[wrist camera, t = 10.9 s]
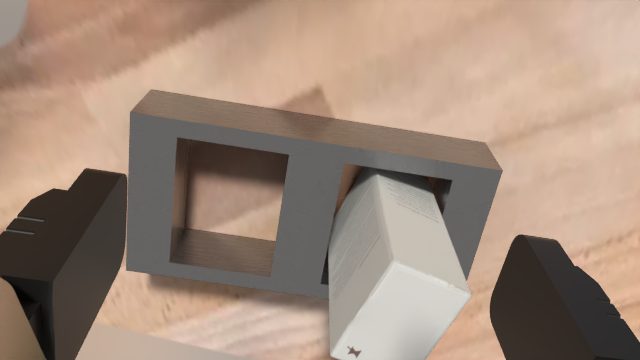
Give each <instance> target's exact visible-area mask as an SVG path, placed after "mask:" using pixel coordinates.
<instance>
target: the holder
mask: <svg viewBox="0 0 640 360" xmlns="http://www.w3.org/2000/svg"><path fill="white" fill-rule="evenodd" d="M191 139H192V140H198V141H205V142H211V143H217V144H224V145H230V146H237V147H243V148H250V149H256V150H263V151H269V152H275V153H282V154H288V155H289V158H288V165H287V171H286V178H285V185H284V191H283V198H282V204H281V211H280V218H279V224H278V231H277V237H276V242H275V241H268V240H262V239H255V238H248V237H241V236H234V235H228V234H221V233H214V232H207V231H200V230H194V229H187V228H184V227H185V213H186V199H187V186H188V172H189V158H190V145H191ZM364 166H366V167H372V168H379V169H385V170H391V171H398V172H404V173H411V174H415V175H417V176H420V177H422V178H424V179H426V180H427V181H428V182H429V183H430V186H431V188H432V191H433V194H434V196H435V199H436V202H437V204H438V207H439V210H440V212H441V215H442V218H443V220H444V223H445V226H446V228H447V231H448V234H449V237H450V239H451V242H452V244H453V247H454V249H455V253H456V255H457V258H458V260H459V263H460V266H461V268H462V271H463V274H464V276H465V279H466V281H467V279H468V275H469V272H470V269H471V266H472V263H473V260H474V257H475V254H476V251H477V248H478V245H479V242H480V239H481V236H482V232H483V229H484V226H485V223H486V220H487V217H488V214H489V211H490V208H491V205H492V202H493V199H494V196H495V193H496V190H497V186H498V183H499V180H500V177H501V174H502V171H503V170H502V169H501V167H500V165H499V164H498V162H497V161H496V159H495V158H494V156H493V154H492V153H491V151H490V150H489V148H488V146H487V145H486V143H484V142H477V141H471V140H465V139H458V138H452V137H446V136H440V135H433V134H427V133H421V132H414V131H408V130H402V129H396V128H389V127H383V126H377V125H370V124H364V123H358V122H352V121H345V120H339V119H333V118H327V117H320V116H314V115H308V114H301V113H295V112H289V111H283V110H276V109H270V108H264V107H257V106H251V105H245V104H239V103H232V102H226V101H220V100H213V99H207V98H201V97H195V96H188V95H182V94H176V93H170V92H163V91H157V90H150V91H149V92H148V93H147V95H146V96H145V97H144V98H143V99H142V100H141V101H140V102H139V103H138V104H137V105H136V106H135V107H134V109H133V110H132V111H131V112H130V139H129V179H128V219H127V260H126V270H127V271H134V272H141V273H148V274H155V275H162V276H169V277H176V278H183V279H190V280H197V281H204V282H211V283H218V284H225V285H232V286H239V287H246V288H254V289H261V290H268V291H275V292H282V293H289V294H296V295H303V296H310V297H317V298H324V299H329V267H328V266H329V265H328V243H329V238H330V233H331V228H332V223H333V219H334V217H335V216H336V214H337V212H338V211H339V209H340V207H341V205H342V204H343V202H344V200H345V199H346V197H347V195H348V193H349V192H350V190H351V188H352V187H353V185H354V183H355V181H356V180H357V178H358V176H359V175H360V173H361V171H362V169H363V168H364Z"/></svg>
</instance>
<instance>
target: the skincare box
mask: <svg viewBox="0 0 640 360" xmlns="http://www.w3.org/2000/svg"><path fill="white" fill-rule="evenodd" d="M328 265H329V266H328V267H329V344H330V356H331V357H333V358H336V359H339V360H425V359H426V358H427V357H428V355H429V354H430V353H431V351H432V350H433V348H434V347H435V346H436V344H437V343H438V341H439V340H440V339H441V337H442V336H443V334H444V333H445V332H446V330H447V329H448V328H449V326H450V325H451V324H452V322H453V321H454V319H455V318H456V317H457V315H458V314H459V313H460V311H461V310H462V309H463V307H464V306H465V305H466V303H467V302H468V301H469V299H470V298H471V296H472V295H471V292H470V289H469V287H468V284H467V281H466V279H465V276H464V274H463V271H462V268H461V266H460V263H459V260H458V258H457V255H456V253H455V249H454V247H453V244H452V242H451V239H450V237H449V234H448V231H447V228H446V226H445V223H444V220H443V218H442V215H441V212H440V210H439V207H438V204H437V202H436V199H435V196H434V194H433V191H432V188H431V186H430V183H429V182H428V181H427V180H426V179H424V178H422V177H420V176H417V175H415V174H411V173H404V172H398V171H391V170H385V169H379V168H372V167H366V166H364V168H363V169H362V171H361V173H360V175H359V176H358V178H357V180H356V181H355V183H354V185H353V187H352V188H351V190H350V192H349V193H348V195H347V197H346V199H345V200H344V202H343V204H342V205H341V207H340V209H339V211H338V212H337V214H336V216H335V217H334V219H333V223H332V228H331V233H330V238H329V243H328Z"/></svg>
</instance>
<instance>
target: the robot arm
mask: <svg viewBox="0 0 640 360" xmlns="http://www.w3.org/2000/svg"><path fill="white" fill-rule="evenodd" d="M126 211H127V177H126V175H125V174H122V173H116V172H109V171H102V170H96V169H89V168H86V169H84V171H83V172H82V173H81V174H80V176H79V177H78V178H77V179H76V181H75V182H74V183H73V184H72V186H71V187H70V188H69V190H61V189H54V188H53V189H52V190H50V191H48V192H46V193H44V194H42V195H40V196H38V197H36V198H34V199H32V200H30V202H29V203H28V204H27V205H26V206H25V207H24V208H23V210H22V211H21V212H20V213H19V214H18V217H17V218H15V219H14V220H13V221H12V222H11V223H10V224H9V226H8V227H7V228H6V231H3V232H2V234H1V235H0V360H75V358H76V356H77V354H78V352H79V350H80V348H81V346H82V344H83V342H84V340H85V338H86V336H87V334H88V332H89V330H90V328H91V326H92V324H93V322H94V320H95V318H96V316H97V314H98V312H99V310H100V308H101V306H102V304H103V302H104V300H105V298H106V296H107V294H108V292H109V290H110V288H111V286H112V284H113V282H114V280H115V278H116V276H117V274H118V271H119V269H120V266H121V263H122V259H123V255H124V249H125V240H126ZM620 316H621V315H620V314H619V312H618V311H617V309H616V308H615V306H614V305H613V304H610V299H609V298H608V296H607V295H606V294H605V292H604V291H603V289H602V288H601V286H600V285H599V284H598V283H597V282H596V281H595V280H594V279H593V278H591V277H590V276H589V275H588V274H586V273H585V272H584V271H583V270H582V269H580V268H579V267H578V266H574V264H573V263H572V261H571V260H570V259H569V257H568V256H567V254H566V253H565V251H564V250H563V248H562V247H561V245H560V244H559V242H558V241H556V240H554V239H548V238H541V237H535V236H528V235H518V236H516V237H515V239H514V240H513V242H512V244H511V246H510V249H509V251H508V254H507V257H506V259H505V262H504V264H503V267H502V270H501V272H500V275H499V277H498V280H497V283H496V285H495V288H494V290H493V293H492V297H491V302H490V318H491V323H492V326H493V328H494V331H495V333H496V336H497V338H498V341H499V343H500V346H501V348H502V351H503V353H504V356H505V358H506V360H640V342H639V341H638V339H637V338H636V336H635V335H634V334H633V332H632V331H631V329H630V328H629V326H628V325H627V324H626V322H625V321H624V319H620Z"/></svg>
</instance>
